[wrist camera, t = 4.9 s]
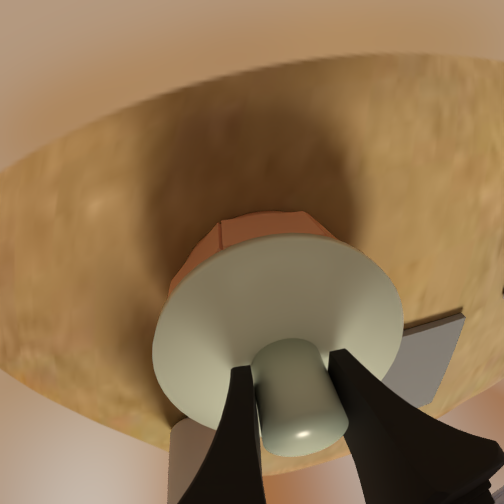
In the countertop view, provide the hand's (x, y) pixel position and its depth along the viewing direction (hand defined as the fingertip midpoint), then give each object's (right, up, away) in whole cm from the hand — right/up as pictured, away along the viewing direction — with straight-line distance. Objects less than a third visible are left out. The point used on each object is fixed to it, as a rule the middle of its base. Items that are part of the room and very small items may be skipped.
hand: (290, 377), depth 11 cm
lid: (0, 0, +2) cm, 2 cm away
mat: (+10, -5, +10) cm, 15 cm away
